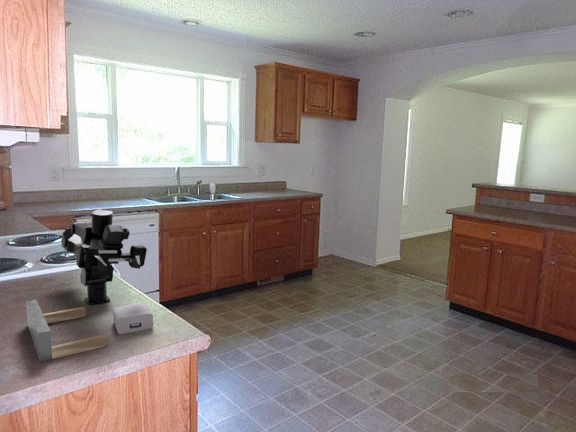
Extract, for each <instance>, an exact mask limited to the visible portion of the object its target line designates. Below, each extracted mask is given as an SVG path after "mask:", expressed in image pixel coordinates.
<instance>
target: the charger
mask: <svg viewBox="0 0 576 432" xmlns="http://www.w3.org/2000/svg"><path fill="white" fill-rule="evenodd" d="M112 313H113V314H112V315H113V316H112V317H113V322H114V323H113V324H114V326H115V328H116V333H118V334H119V335H123V334H129V333H135V332H140V331H145V330H151V329H153V327H154V315H153V313H152V312H151V310H150V308H149V307H148V305H147V304H146V303H136V304H133V303H132V304H125V305H122V306H117V307H115V308H114V309H112Z"/></svg>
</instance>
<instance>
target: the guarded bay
mask: <svg viewBox="0 0 576 432" xmlns="http://www.w3.org/2000/svg"><path fill="white" fill-rule="evenodd" d="M25 303H26V304H25V306H26V307H25V308H26V317H27V318H26V319H27V328H28V330H29V333H30V336H31V339H32V342H33V346H34V347H35V352H36V354H37V357H38V360H39V362H40V363H41V362H45V361H49V360H54V359H58V358H62V357H67V356H70V355H75V354H79V353H84V352H89V351H91V350H96V349H100V348H103V347H105V348H106V347H107V340H106V339H107V338H106V335H105V334H101V335H96V336H93V337H92V336H91V337H88V338H82V339H79V340H75V341H74V340H73V341H70V342H66V343H65V342H64V343H61V344H55V345H52V337H51V329H50V327H49V325H48V324H53V323H58V322H62V321H63V322H64V321H67V320H68V321H69V320H74V319H78V318H85V317H86V315H87V314H86V307H85V306H79V307H76V308H75V307H74V308H69V309H64V310H58V311H54V312H48V313H43V311H42V309H41V307H40V304H39V302H38V300H37V299H33V300H27V301H25Z"/></svg>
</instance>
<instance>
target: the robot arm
mask: <svg viewBox="0 0 576 432" xmlns="http://www.w3.org/2000/svg"><path fill="white" fill-rule="evenodd" d="M113 215H114V213H113V211H112V210H103V209H95V210H94V211H92V212H91V225H90V224H88V223H87V221H86V222H85V221H76V222H72V223H70V225H69V227H68V228H67V229H66V230H64V231H63V233H62V236H61V241H60V242H61V247H62V248H63V249H64V250H65V251H66V252H67V253H72V254H74V255H75V257H76V262H75V263H76V265H77V267H78V268H79V269H81V273H80V274H79V278H80V284H82V285H83V286H84V287H86V288H87V290H86V291H87V292H86V293H87V297H84V300H85V301H86V304H87V305H96V304H101V303H106V302H111V298H109V296H108V294H107V293H108V292H107V283H109V282H111V283H112V282H113V277H114V269H115V267H114V266H113V264H114V265H118V264H119V262H120V263H121V262H128V266H130V268H131V269H133V268H134V269H139V270H140V269H141V267H144V266H145V260H146V256H147V251H148V249H147V247H145V246H144V244H143V245H141V244H138V245H136V244H135V245H134V244H132V245H131V246H130V249H129V252H122V249H123V248H124V244H123V243H122V242H123V241H124V240H128V239H129V236H130V230H129V228H127V227H125V226H122V225H118V224H113Z"/></svg>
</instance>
